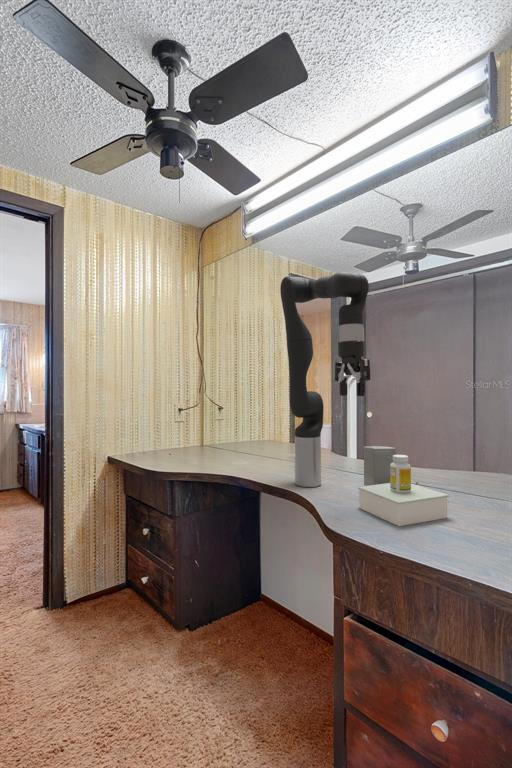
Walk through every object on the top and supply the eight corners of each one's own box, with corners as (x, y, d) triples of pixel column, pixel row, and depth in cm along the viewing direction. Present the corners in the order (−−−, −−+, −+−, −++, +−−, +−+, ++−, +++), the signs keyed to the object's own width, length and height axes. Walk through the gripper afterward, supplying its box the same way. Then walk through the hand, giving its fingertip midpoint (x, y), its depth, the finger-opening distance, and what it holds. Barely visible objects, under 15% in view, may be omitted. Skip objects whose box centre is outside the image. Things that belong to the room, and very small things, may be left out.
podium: (358, 507, 112) (357, 486, 112) (403, 501, 118) (403, 481, 118) (398, 526, 97) (398, 502, 97) (449, 518, 103) (448, 495, 103)
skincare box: (374, 501, 119) (374, 448, 119) (362, 494, 126) (361, 445, 126) (399, 498, 121) (398, 447, 121) (385, 492, 128) (384, 444, 128)
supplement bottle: (387, 491, 107) (387, 456, 107) (393, 487, 112) (393, 453, 112) (408, 494, 104) (407, 458, 104) (413, 490, 108) (413, 455, 108)
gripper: (327, 343, 121) (327, 395, 120) (355, 337, 107) (355, 396, 107) (347, 343, 123) (348, 395, 123) (377, 338, 110) (378, 396, 110)
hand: (351, 395), depth 115 cm, fingers open, 8 cm apart
